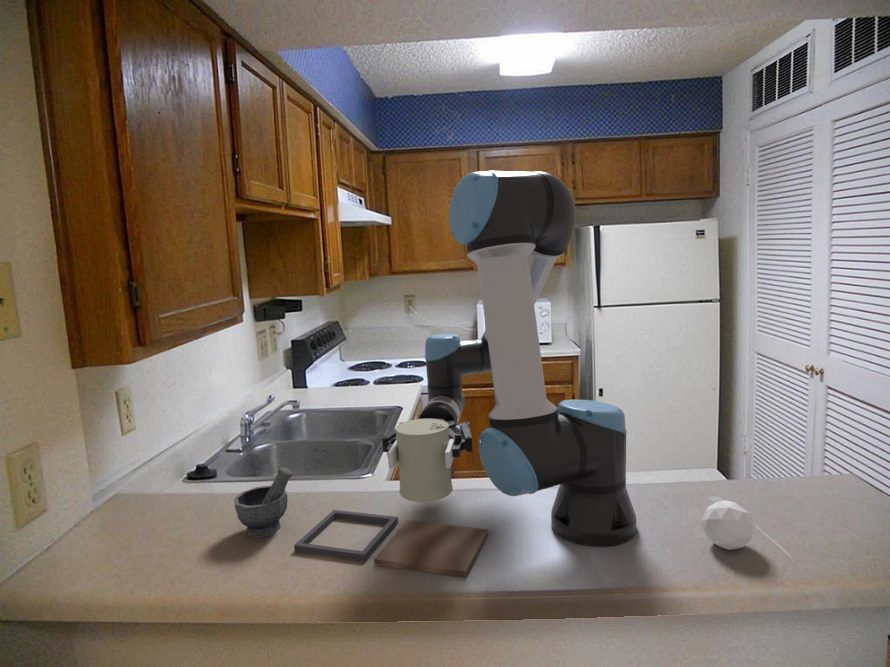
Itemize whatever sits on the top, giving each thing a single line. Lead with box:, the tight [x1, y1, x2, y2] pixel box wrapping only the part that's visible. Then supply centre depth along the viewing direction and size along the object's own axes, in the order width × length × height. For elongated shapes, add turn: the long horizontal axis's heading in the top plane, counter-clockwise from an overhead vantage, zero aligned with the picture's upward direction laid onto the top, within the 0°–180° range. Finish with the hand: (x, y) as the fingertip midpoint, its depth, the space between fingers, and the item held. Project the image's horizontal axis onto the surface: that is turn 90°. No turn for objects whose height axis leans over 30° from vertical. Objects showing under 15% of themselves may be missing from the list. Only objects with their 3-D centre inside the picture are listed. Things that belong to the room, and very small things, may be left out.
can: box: [394, 418, 454, 503], centre depth 97 cm, size 9×9×12 cm
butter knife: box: [708, 495, 793, 559], centre depth 102 cm, size 1×24×3 cm
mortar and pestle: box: [233, 466, 293, 539], centre depth 109 cm, size 11×9×12 cm
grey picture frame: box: [293, 509, 399, 562], centre depth 105 cm, size 14×14×1 cm
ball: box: [701, 500, 756, 551], centre depth 95 cm, size 8×8×8 cm
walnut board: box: [373, 519, 489, 578], centre depth 99 cm, size 16×14×1 cm
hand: (418, 460), depth 92 cm, fingers closed on can, 9 cm apart
